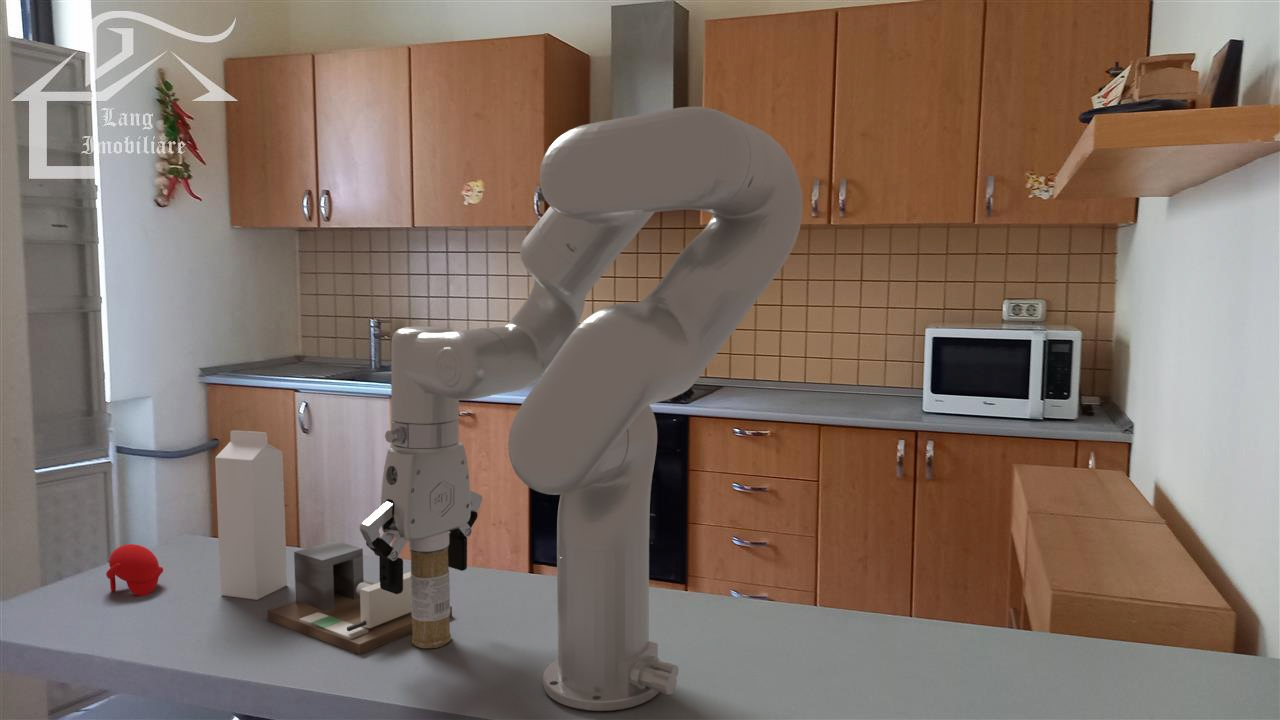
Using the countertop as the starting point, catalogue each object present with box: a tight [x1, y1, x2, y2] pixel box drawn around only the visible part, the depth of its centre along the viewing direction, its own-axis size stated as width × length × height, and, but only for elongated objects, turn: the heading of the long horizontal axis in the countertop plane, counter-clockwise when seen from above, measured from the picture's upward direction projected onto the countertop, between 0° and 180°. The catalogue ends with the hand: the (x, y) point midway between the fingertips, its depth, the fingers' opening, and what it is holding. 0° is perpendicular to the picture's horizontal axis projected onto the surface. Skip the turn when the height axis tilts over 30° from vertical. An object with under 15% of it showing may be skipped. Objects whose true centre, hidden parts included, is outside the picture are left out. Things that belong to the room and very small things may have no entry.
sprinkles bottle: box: [408, 531, 452, 649], centre depth 101 cm, size 5×5×14 cm
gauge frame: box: [266, 540, 453, 656], centre depth 109 cm, size 18×14×8 cm
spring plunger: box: [347, 571, 412, 631], centre depth 106 cm, size 7×10×4 cm, turn 145°
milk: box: [214, 430, 288, 601], centre depth 118 cm, size 6×6×22 cm
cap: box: [105, 543, 164, 597], centre depth 119 cm, size 8×6×6 cm
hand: (424, 579), depth 101 cm, fingers open, 9 cm apart
